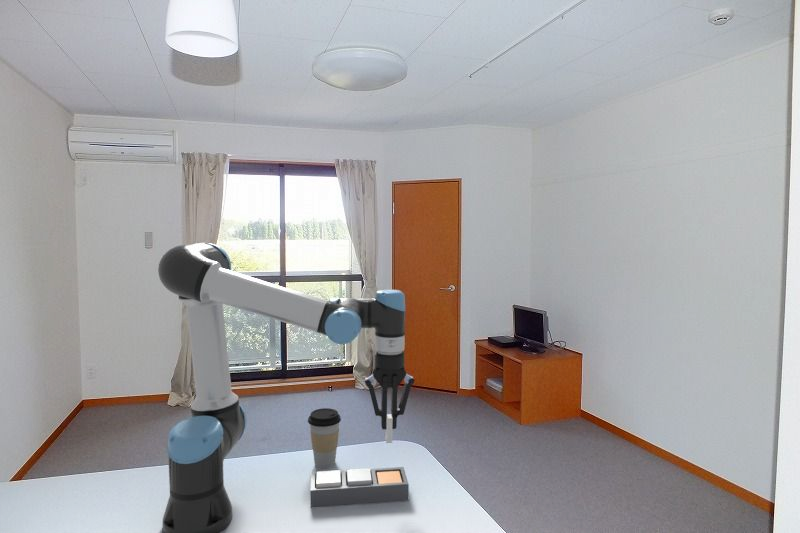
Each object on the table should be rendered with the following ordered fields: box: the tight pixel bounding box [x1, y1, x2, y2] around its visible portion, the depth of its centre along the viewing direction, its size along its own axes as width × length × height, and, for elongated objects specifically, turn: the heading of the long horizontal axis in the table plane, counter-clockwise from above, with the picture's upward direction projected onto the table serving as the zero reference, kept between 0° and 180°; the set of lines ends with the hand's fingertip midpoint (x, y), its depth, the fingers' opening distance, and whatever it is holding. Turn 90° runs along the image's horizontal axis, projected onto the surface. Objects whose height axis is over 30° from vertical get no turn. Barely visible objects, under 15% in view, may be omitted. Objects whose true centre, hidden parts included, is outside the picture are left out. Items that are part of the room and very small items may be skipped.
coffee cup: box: [307, 407, 342, 469], centre depth 145 cm, size 9×9×15 cm
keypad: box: [309, 466, 410, 509], centre depth 129 cm, size 24×9×4 cm, turn 98°
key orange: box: [377, 471, 402, 484], centre depth 130 cm, size 6×6×2 cm
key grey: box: [347, 467, 372, 486], centre depth 129 cm, size 6×6×2 cm
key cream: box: [316, 469, 341, 488], centre depth 128 cm, size 6×6×2 cm
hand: (388, 440), depth 129 cm, fingers closed
